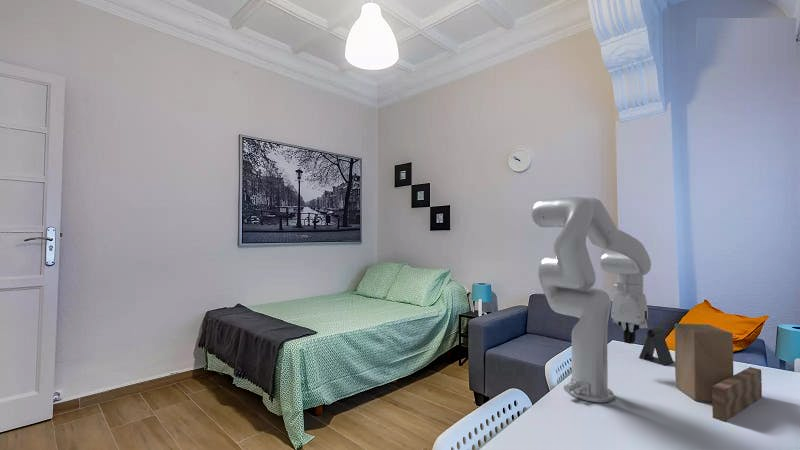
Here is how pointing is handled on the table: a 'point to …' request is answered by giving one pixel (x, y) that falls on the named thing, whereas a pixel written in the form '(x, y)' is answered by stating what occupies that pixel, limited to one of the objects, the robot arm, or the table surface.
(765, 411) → the table surface
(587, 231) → the robot arm
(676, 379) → the wooden block
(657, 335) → the phone stand
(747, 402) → the walnut board
